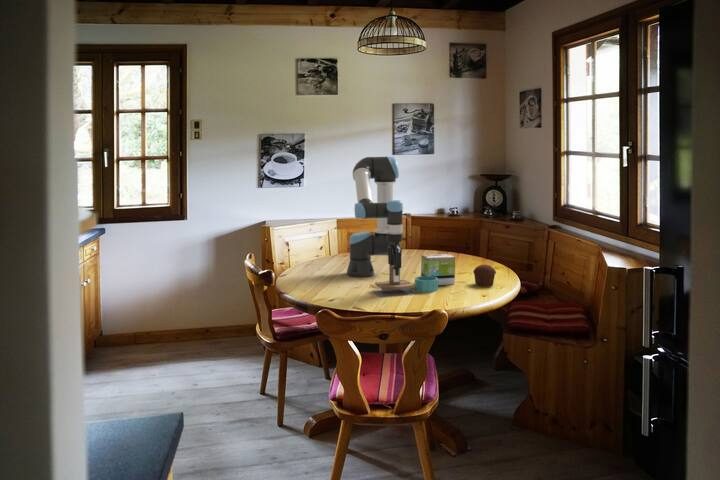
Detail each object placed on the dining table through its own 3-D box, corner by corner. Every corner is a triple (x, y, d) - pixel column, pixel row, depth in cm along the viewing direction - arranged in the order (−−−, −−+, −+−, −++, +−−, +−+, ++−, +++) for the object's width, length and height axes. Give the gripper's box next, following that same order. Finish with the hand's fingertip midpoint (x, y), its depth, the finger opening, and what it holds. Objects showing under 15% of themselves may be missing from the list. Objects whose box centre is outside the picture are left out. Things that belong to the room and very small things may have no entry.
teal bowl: (411, 288, 301) (411, 276, 300) (432, 287, 304) (432, 275, 303) (420, 293, 290) (420, 281, 289) (441, 291, 293) (441, 279, 292)
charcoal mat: (370, 291, 296) (370, 290, 296) (408, 288, 302) (408, 287, 302) (379, 298, 283) (379, 297, 283) (419, 294, 288) (419, 293, 288)
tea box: (427, 286, 305) (428, 257, 303) (420, 282, 314) (420, 254, 312) (455, 284, 309) (455, 256, 306) (447, 280, 318) (447, 253, 316)
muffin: (468, 284, 309) (468, 265, 308) (482, 281, 316) (482, 262, 315) (486, 288, 300) (486, 268, 299) (500, 284, 307) (501, 265, 306)
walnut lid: (375, 284, 295) (374, 264, 294) (405, 282, 300) (405, 262, 298) (383, 290, 284) (383, 269, 282) (414, 287, 289) (414, 267, 287)
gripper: (381, 230, 295) (381, 277, 299) (393, 236, 279) (393, 285, 282) (395, 229, 297) (395, 276, 301) (408, 235, 281) (408, 284, 285)
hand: (394, 280), depth 292 cm, fingers closed on walnut lid, 4 cm apart
